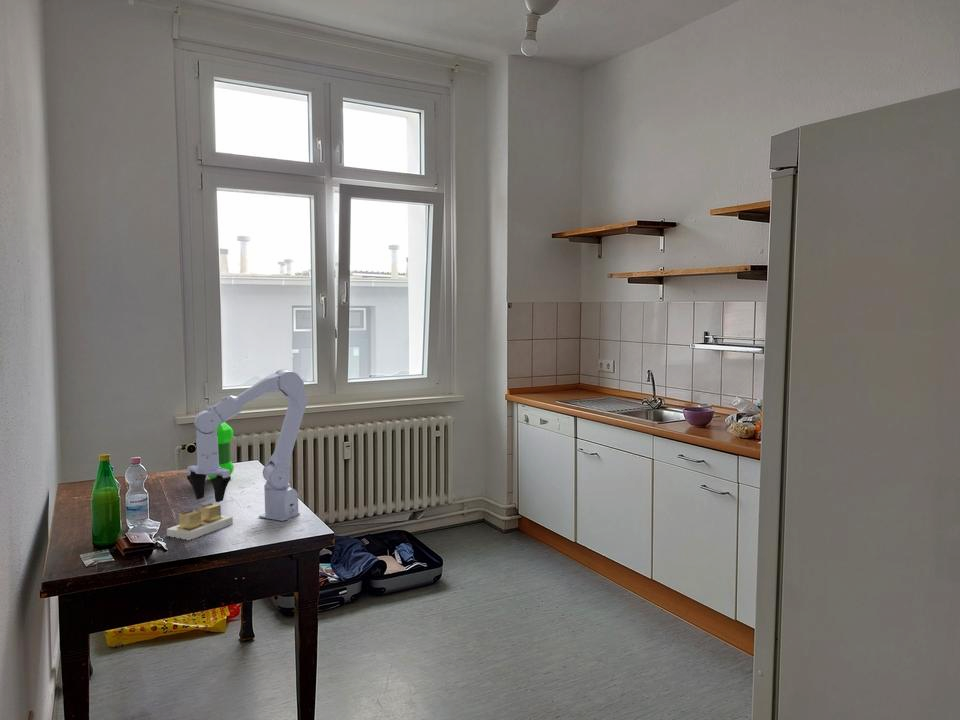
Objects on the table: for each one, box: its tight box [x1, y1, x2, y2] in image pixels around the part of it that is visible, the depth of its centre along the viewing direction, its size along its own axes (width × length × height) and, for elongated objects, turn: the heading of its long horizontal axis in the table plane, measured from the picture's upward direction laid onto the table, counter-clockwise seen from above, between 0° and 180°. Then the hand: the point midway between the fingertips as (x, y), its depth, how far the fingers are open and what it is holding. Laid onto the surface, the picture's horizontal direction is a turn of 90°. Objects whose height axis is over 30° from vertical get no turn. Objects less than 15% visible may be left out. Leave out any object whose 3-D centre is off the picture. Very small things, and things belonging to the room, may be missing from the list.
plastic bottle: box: [206, 422, 235, 479], centre depth 246 cm, size 10×10×25 cm
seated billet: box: [178, 509, 201, 531], centre depth 188 cm, size 4×4×6 cm
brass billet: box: [198, 502, 222, 523], centre depth 194 cm, size 4×4×6 cm
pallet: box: [166, 514, 234, 541], centre depth 191 cm, size 8×16×2 cm, turn 155°
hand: (209, 499), depth 194 cm, fingers open, 7 cm apart
